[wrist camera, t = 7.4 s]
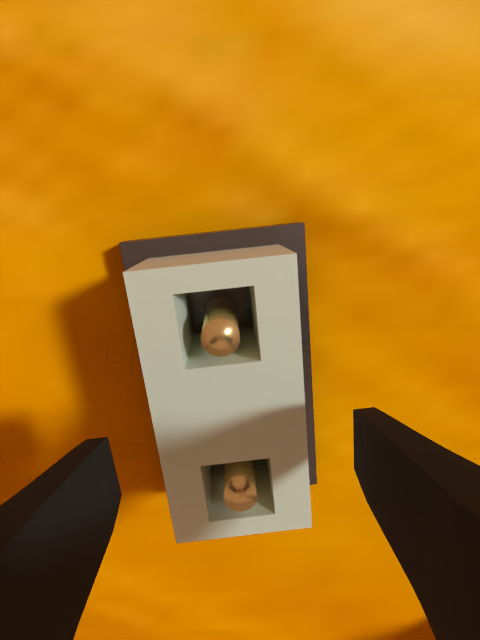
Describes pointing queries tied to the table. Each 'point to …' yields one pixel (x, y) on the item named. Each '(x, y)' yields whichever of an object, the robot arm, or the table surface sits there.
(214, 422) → the hollow breeze brick
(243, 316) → the base
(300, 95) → the table surface
